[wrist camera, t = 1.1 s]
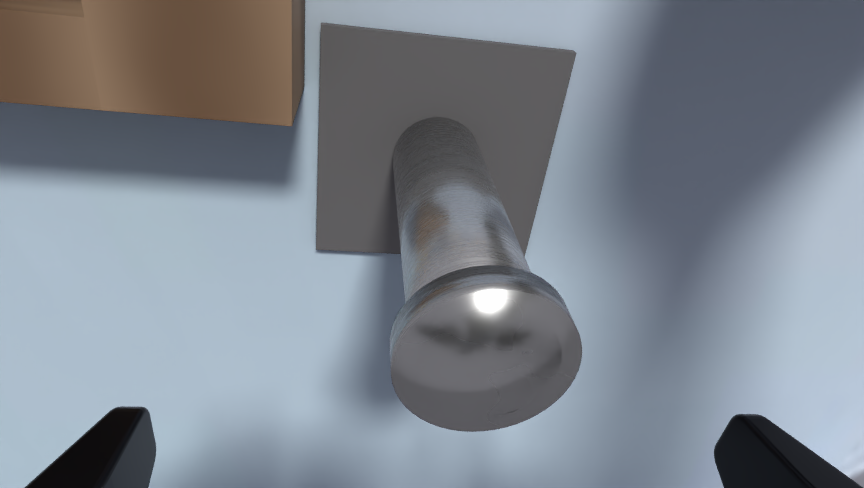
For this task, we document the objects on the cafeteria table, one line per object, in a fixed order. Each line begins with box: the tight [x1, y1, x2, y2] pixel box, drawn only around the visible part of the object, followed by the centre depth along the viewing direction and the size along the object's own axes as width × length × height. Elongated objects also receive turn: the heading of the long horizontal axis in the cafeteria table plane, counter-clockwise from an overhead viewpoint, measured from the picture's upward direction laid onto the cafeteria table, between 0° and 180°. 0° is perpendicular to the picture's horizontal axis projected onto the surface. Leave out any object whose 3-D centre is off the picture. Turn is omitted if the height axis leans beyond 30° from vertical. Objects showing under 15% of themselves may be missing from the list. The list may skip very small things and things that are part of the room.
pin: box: [390, 117, 582, 432], centre depth 15 cm, size 4×4×10 cm
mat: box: [316, 23, 576, 257], centre depth 20 cm, size 8×8×1 cm
